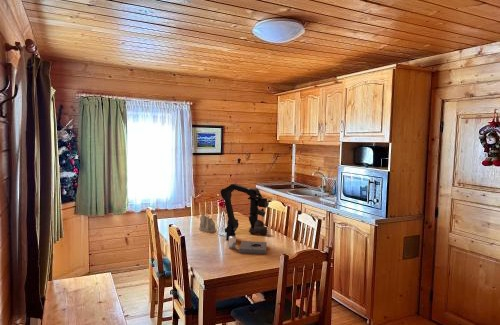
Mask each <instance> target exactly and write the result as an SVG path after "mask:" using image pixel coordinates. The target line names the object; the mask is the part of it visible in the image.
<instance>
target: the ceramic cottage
mask: <svg viewBox="0 0 500 325" xmlns="http://www.w3.org/2000/svg"><path fill="white" fill-rule="evenodd" d="M199 219H200V220H199V221H200V223H199V228H198V230H199V231H200V232H204V233H215V232H216V231H217V229H216V223H215V221H214V219H213V218H212V217H210V216H208V215H205V213H204V212H202V213H201V216H200V218H199Z"/></svg>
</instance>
